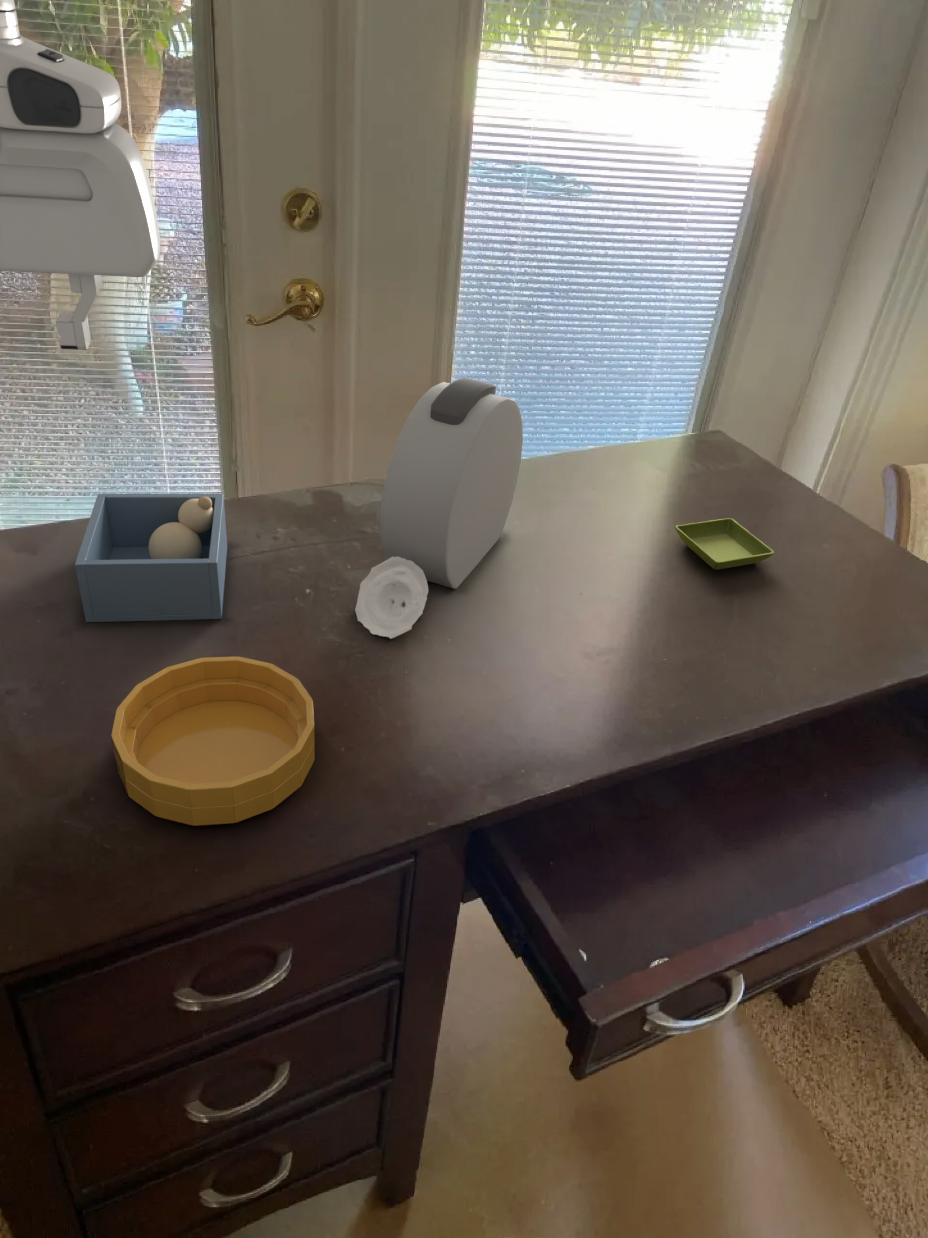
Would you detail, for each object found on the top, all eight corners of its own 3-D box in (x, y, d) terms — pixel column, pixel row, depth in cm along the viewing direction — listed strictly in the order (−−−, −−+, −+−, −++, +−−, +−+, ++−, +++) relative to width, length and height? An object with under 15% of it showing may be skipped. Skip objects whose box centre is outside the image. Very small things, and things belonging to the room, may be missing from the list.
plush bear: (137, 554, 88) (186, 481, 89) (139, 555, 93) (185, 486, 94) (184, 583, 89) (231, 511, 90) (183, 582, 94) (228, 513, 95)
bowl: (107, 837, 65) (98, 795, 62) (133, 700, 77) (126, 659, 74) (317, 823, 68) (317, 782, 65) (310, 692, 80) (310, 653, 77)
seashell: (405, 650, 92) (456, 617, 87) (367, 652, 88) (418, 617, 83) (382, 582, 94) (431, 546, 90) (344, 580, 90) (393, 542, 86)
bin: (85, 622, 85) (74, 564, 81) (106, 547, 96) (97, 493, 92) (221, 619, 87) (216, 562, 84) (227, 546, 98) (223, 493, 94)
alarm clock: (457, 505, 111) (472, 349, 99) (513, 521, 109) (535, 364, 97) (376, 587, 94) (383, 411, 83) (439, 608, 92) (456, 431, 81)
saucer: (727, 531, 112) (731, 516, 111) (771, 567, 105) (776, 552, 104) (669, 540, 108) (673, 525, 107) (712, 578, 102) (716, 563, 101)
